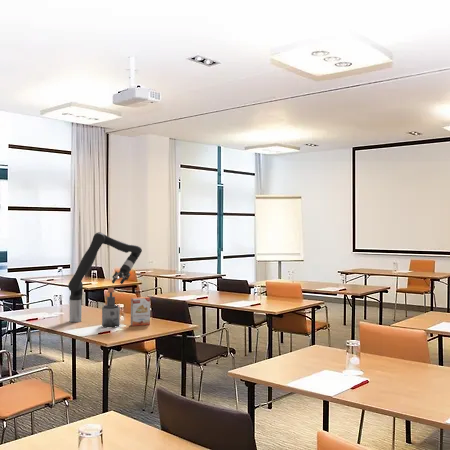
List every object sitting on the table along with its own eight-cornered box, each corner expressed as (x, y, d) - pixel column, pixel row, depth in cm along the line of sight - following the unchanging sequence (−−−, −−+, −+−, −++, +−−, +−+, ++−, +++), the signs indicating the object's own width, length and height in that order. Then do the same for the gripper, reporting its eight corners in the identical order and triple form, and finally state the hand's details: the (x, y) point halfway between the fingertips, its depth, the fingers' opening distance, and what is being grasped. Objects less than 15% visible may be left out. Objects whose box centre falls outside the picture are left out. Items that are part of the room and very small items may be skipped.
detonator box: (101, 325, 406) (101, 296, 406) (118, 324, 410) (118, 295, 410) (103, 329, 389) (103, 299, 390) (121, 328, 394) (121, 298, 394)
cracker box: (132, 326, 400) (132, 298, 401) (130, 325, 406) (130, 297, 406) (150, 324, 407) (150, 297, 407) (147, 323, 412) (147, 296, 412)
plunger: (107, 303, 403) (107, 288, 403) (113, 303, 405) (113, 287, 405) (108, 304, 399) (108, 288, 399) (114, 304, 401) (114, 288, 401)
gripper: (117, 263, 419) (107, 279, 409) (131, 264, 412) (121, 280, 402) (122, 270, 423) (112, 285, 414) (136, 270, 416) (126, 286, 406)
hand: (116, 283), depth 408 cm, fingers open, 8 cm apart
